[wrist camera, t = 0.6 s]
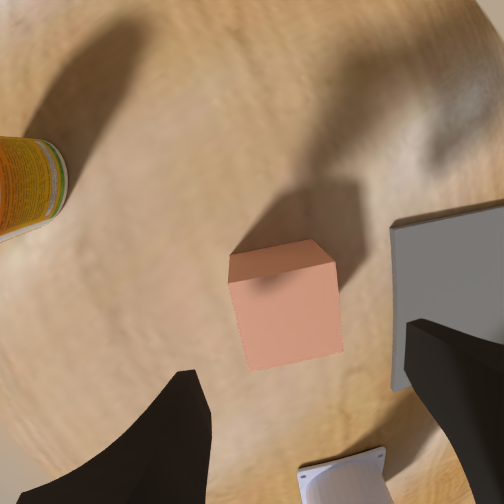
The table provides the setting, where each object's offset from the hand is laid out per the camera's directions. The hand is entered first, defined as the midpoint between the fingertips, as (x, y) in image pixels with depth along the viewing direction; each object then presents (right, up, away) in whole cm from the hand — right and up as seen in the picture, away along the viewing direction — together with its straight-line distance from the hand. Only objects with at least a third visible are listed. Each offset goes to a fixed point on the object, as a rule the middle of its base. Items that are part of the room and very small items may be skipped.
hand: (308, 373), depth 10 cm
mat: (+13, +1, +9) cm, 16 cm away
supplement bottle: (-15, +8, +6) cm, 18 cm away
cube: (0, +2, +8) cm, 8 cm away
